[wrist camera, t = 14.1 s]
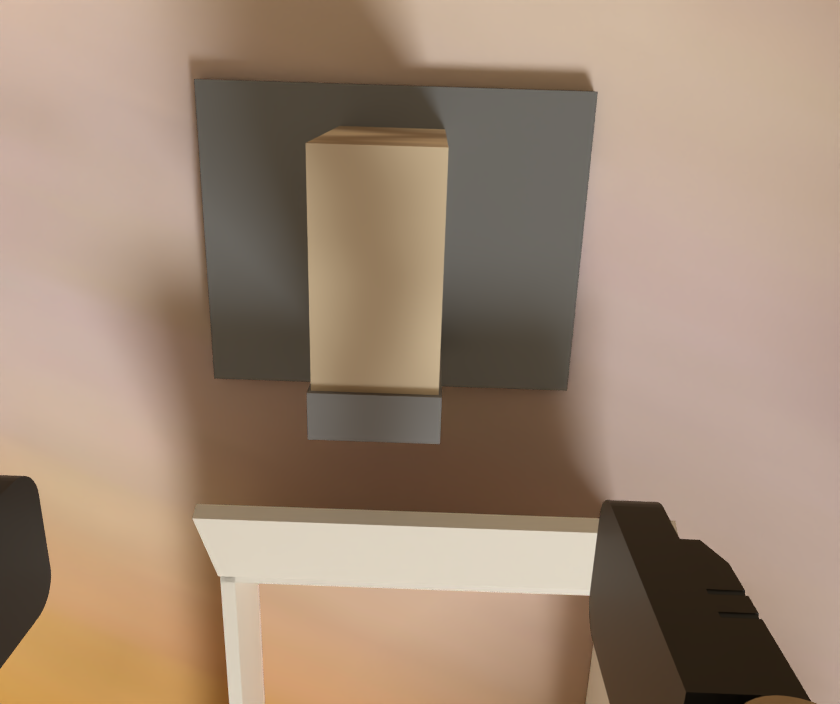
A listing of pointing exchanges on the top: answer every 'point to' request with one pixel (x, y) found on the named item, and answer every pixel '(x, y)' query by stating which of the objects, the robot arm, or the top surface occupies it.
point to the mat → (464, 231)
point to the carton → (383, 563)
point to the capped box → (376, 283)
